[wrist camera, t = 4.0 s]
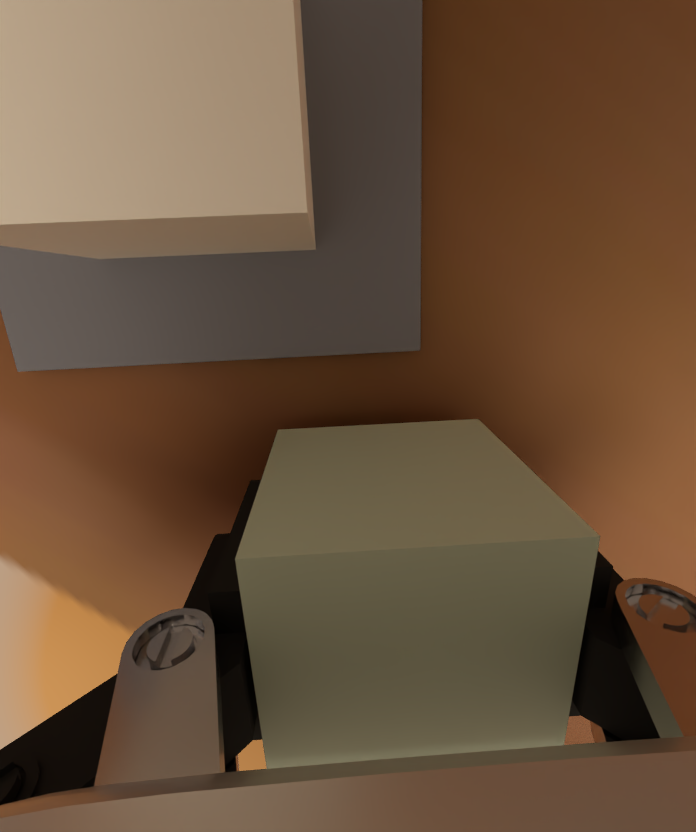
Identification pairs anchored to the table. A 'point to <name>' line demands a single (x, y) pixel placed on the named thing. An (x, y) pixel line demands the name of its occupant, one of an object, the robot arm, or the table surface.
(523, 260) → the table surface
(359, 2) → the mat
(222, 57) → the beige cube
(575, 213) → the table surface
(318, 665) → the pale green cube
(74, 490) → the table surface
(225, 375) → the table surface
